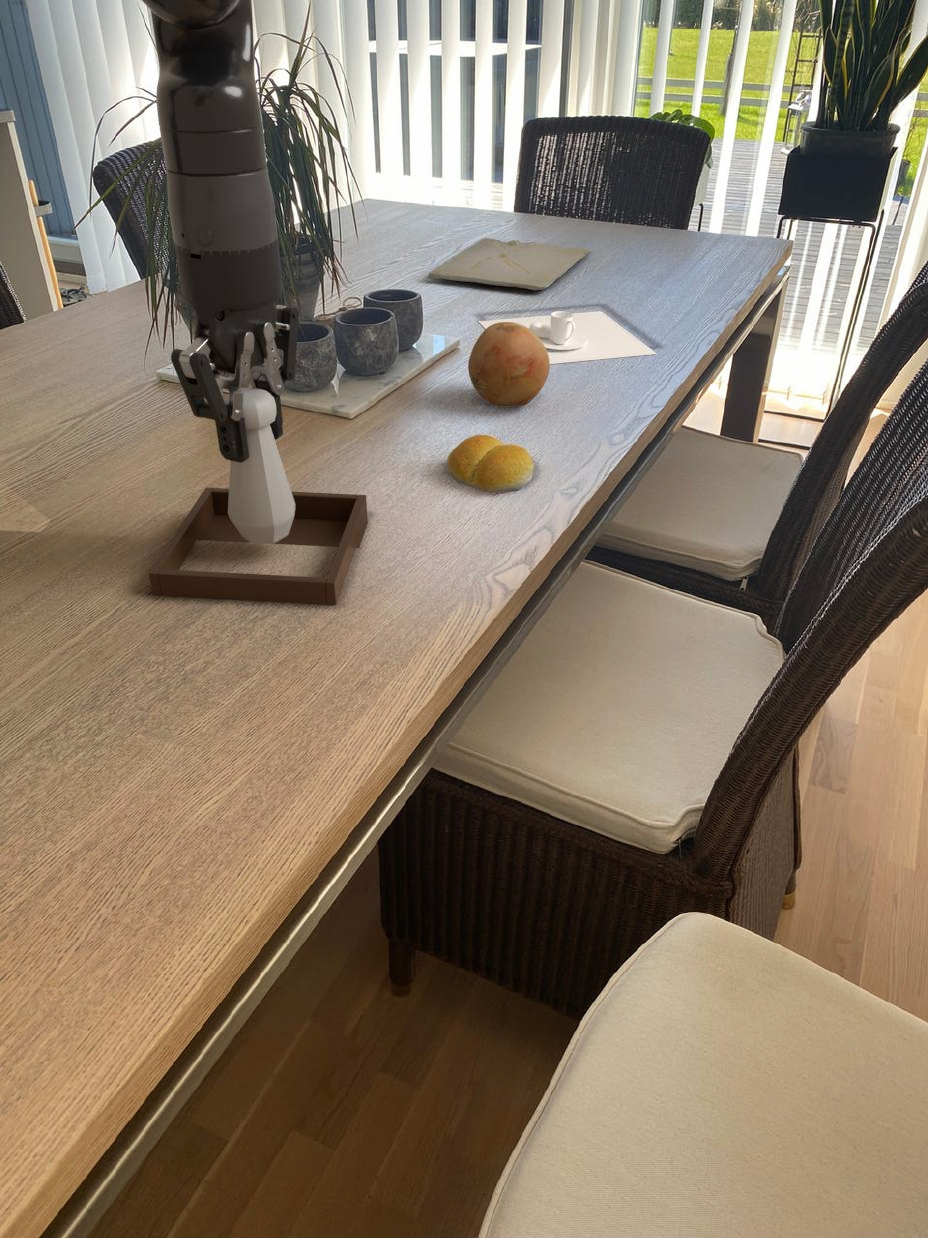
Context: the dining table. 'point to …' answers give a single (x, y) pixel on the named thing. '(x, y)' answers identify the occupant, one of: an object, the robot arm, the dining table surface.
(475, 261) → the decorative slab
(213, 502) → the tray
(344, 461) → the dining table surface
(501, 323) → the onion
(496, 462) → the bread roll
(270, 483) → the salt shaker
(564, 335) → the teacup and saucer
